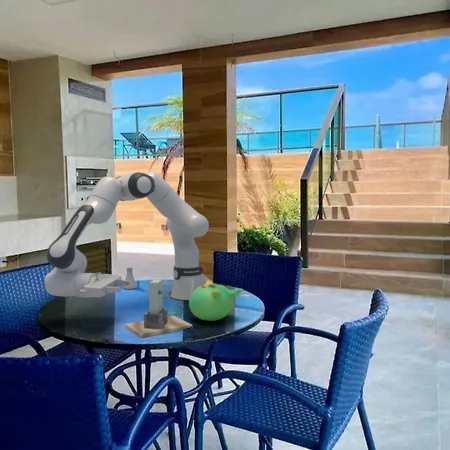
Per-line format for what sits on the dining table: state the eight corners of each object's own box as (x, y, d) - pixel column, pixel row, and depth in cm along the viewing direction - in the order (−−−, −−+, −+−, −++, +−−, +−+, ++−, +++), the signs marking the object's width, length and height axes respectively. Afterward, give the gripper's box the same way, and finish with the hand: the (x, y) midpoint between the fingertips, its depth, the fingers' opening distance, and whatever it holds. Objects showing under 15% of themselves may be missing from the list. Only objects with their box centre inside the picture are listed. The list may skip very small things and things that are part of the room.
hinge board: (173, 318, 182) (173, 302, 181) (192, 328, 170) (192, 311, 170) (124, 327, 170) (124, 310, 170) (141, 337, 159) (141, 319, 158)
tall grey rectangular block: (154, 322, 173) (154, 279, 172) (165, 322, 172) (166, 279, 171) (149, 327, 167) (149, 282, 166) (161, 327, 166) (161, 283, 165)
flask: (133, 290, 229) (133, 269, 228) (119, 289, 230) (119, 269, 229) (139, 286, 236) (139, 267, 235) (125, 286, 237) (125, 266, 237)
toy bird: (211, 311, 194) (211, 275, 192) (244, 319, 183) (244, 281, 182) (180, 320, 180) (180, 282, 178) (213, 329, 169) (214, 289, 168)
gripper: (75, 283, 162) (113, 284, 160) (99, 271, 182) (133, 272, 180) (75, 301, 162) (114, 302, 161) (99, 287, 183) (133, 288, 181)
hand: (124, 286), depth 170 cm, fingers open, 8 cm apart
